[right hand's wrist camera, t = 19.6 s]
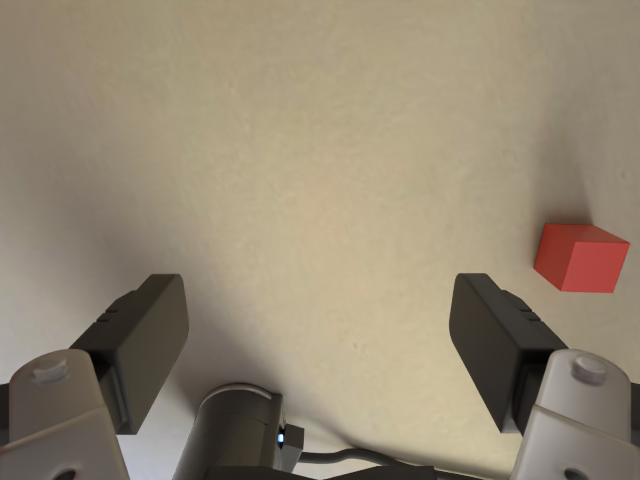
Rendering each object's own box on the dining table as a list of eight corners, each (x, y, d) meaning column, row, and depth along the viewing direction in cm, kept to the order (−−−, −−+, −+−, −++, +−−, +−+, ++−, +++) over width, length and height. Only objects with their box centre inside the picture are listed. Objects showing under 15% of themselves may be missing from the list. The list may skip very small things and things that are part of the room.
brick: (545, 223, 33) (575, 240, 29) (594, 224, 33) (630, 242, 29) (533, 269, 35) (560, 291, 31) (580, 270, 35) (613, 293, 31)
